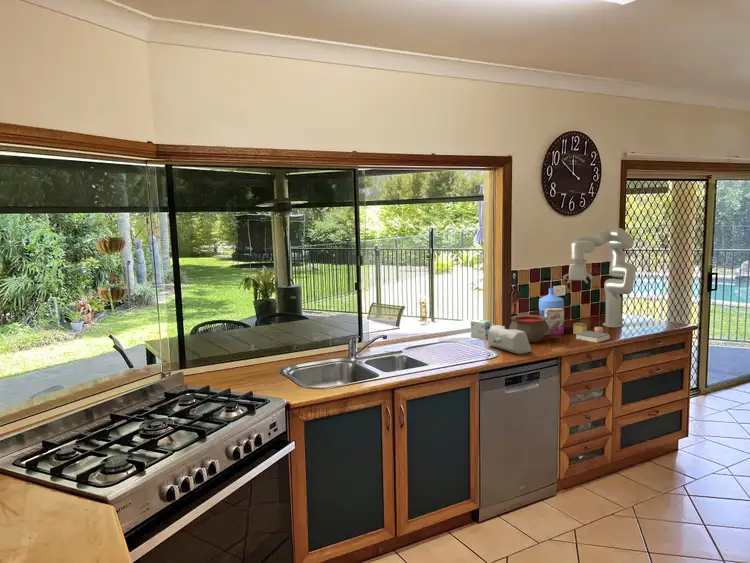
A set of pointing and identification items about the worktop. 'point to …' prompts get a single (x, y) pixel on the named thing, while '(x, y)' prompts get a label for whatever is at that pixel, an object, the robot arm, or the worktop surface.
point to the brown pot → (530, 326)
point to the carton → (579, 328)
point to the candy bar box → (555, 321)
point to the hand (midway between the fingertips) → (577, 289)
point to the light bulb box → (480, 329)
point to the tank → (508, 339)
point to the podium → (593, 336)
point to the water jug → (550, 302)
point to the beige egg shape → (598, 329)
